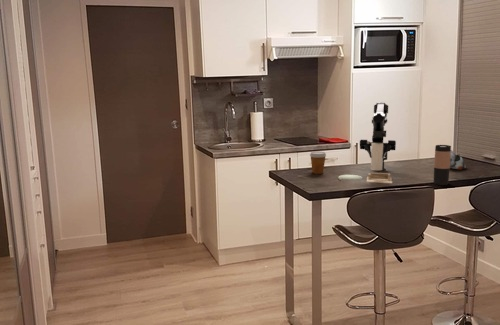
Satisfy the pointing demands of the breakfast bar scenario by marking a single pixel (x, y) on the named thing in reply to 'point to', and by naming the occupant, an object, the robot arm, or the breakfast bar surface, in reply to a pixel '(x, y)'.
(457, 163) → the lucky cat figurine
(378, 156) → the jug
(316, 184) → the breakfast bar surface
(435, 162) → the travel mug
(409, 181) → the breakfast bar surface
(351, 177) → the mat
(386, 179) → the wooden tray
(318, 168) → the disposable coffee cup
